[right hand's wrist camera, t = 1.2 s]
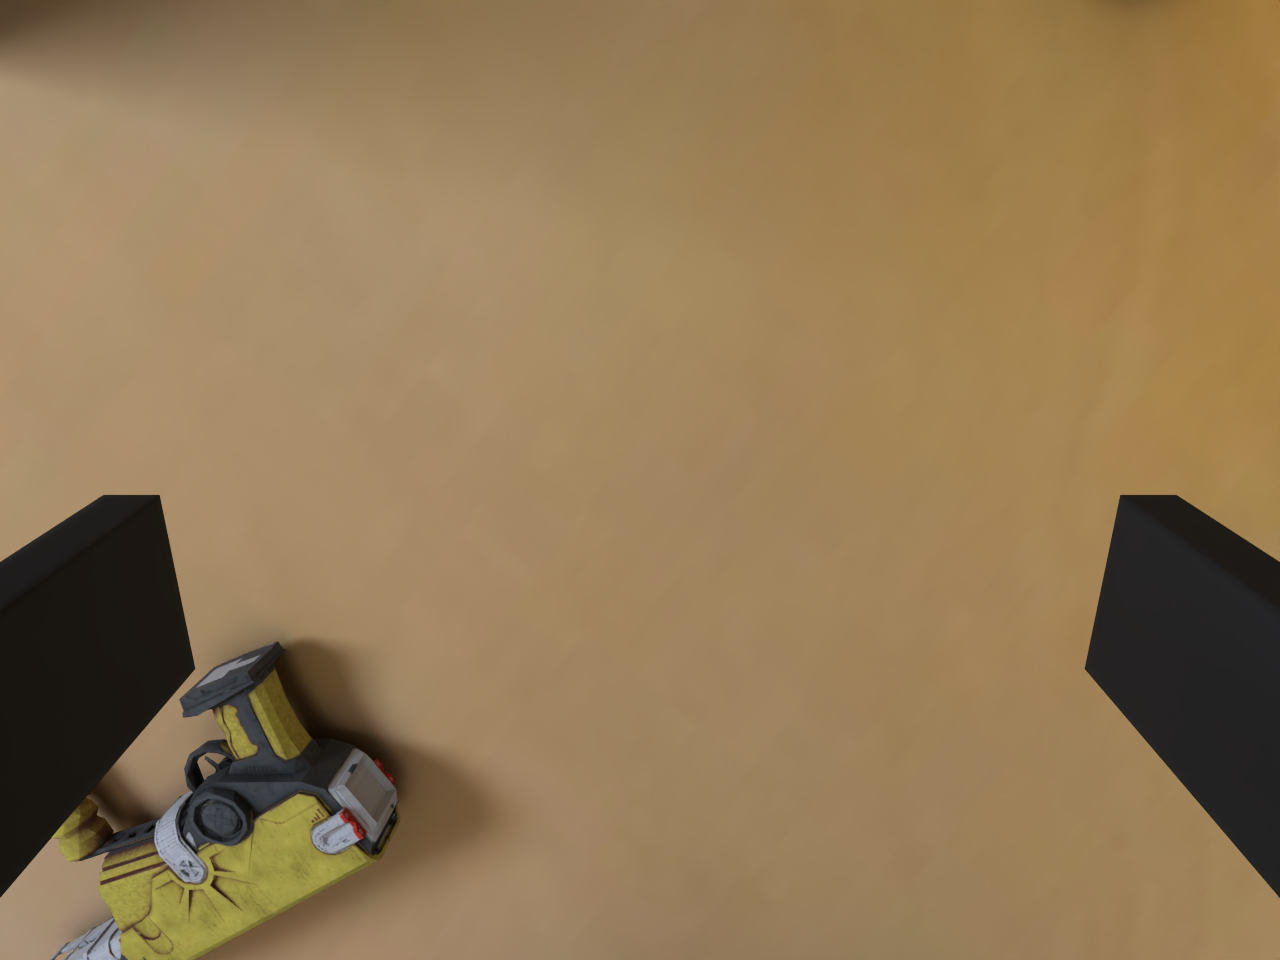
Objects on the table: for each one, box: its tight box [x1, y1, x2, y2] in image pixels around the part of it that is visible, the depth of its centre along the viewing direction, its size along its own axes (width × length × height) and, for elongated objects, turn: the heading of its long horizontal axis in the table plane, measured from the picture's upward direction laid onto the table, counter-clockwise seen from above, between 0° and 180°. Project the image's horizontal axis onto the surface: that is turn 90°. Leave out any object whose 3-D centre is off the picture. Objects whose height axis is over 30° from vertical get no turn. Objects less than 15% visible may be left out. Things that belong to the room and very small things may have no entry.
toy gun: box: [50, 642, 400, 960], centre depth 46 cm, size 5×24×15 cm
